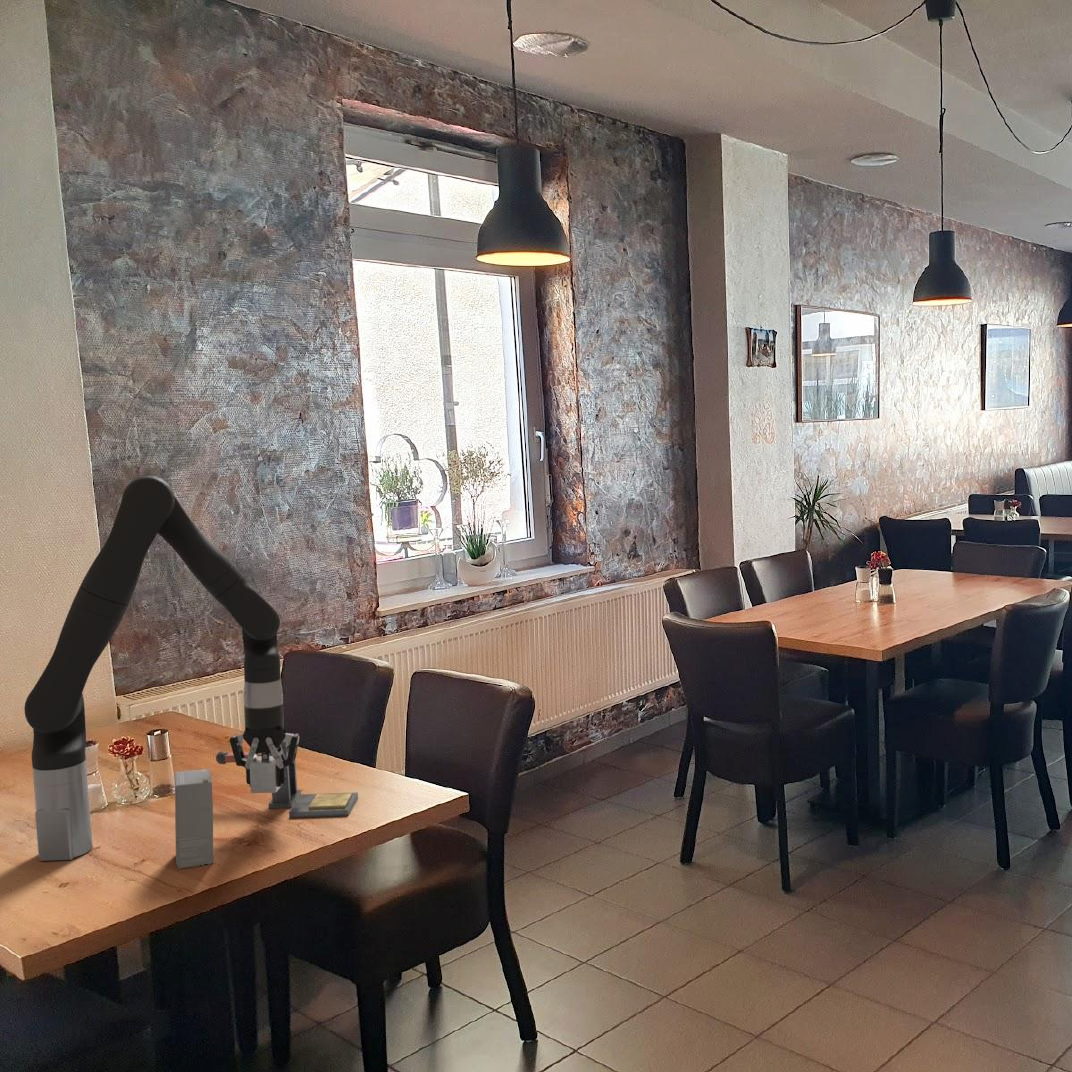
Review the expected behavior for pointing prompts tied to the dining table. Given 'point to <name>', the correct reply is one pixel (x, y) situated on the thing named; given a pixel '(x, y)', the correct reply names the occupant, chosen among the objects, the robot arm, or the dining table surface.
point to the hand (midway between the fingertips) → (266, 785)
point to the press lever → (229, 757)
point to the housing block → (264, 774)
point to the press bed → (309, 798)
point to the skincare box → (193, 818)
